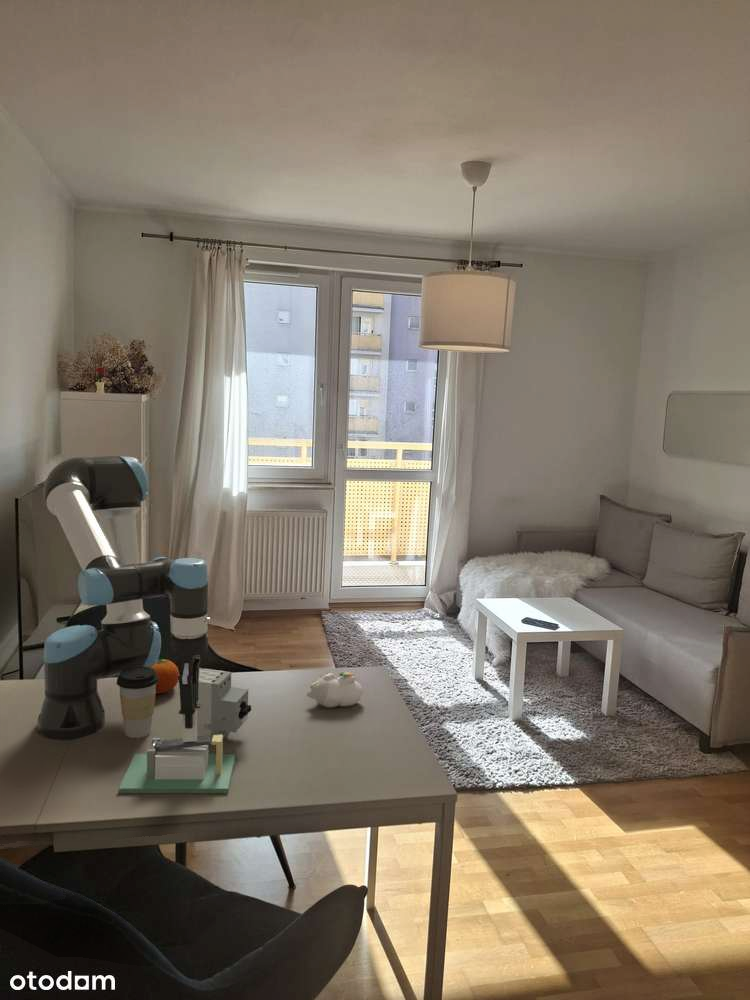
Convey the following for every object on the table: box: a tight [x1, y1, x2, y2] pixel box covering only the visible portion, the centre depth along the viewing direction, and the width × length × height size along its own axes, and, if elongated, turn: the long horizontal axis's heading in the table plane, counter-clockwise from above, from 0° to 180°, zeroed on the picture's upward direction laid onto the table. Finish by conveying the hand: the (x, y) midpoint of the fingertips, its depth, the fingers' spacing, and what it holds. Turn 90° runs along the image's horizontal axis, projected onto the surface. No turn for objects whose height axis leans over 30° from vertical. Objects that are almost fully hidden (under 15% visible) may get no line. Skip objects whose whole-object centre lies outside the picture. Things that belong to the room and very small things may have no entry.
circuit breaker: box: [195, 667, 252, 745], centre depth 174 cm, size 8×14×15 cm, turn 78°
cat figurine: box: [306, 671, 364, 708], centre depth 195 cm, size 10×8×15 cm
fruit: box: [151, 658, 180, 694], centre depth 198 cm, size 11×10×8 cm
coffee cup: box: [116, 666, 159, 739], centre depth 174 cm, size 9×9×15 cm
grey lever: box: [149, 735, 212, 751], centre depth 157 cm, size 13×3×1 cm, turn 95°
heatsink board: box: [118, 735, 236, 794], centre depth 157 cm, size 22×14×8 cm, turn 95°
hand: (189, 739), depth 156 cm, fingers closed
